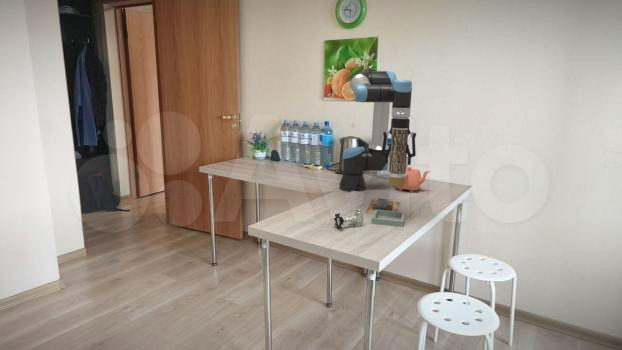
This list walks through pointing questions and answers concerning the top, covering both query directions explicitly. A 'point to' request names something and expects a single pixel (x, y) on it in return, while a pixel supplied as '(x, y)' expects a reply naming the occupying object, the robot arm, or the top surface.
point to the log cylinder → (398, 157)
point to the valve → (350, 219)
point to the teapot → (413, 179)
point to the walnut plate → (389, 205)
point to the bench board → (395, 208)
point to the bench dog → (382, 204)
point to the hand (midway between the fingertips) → (397, 171)
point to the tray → (387, 221)
